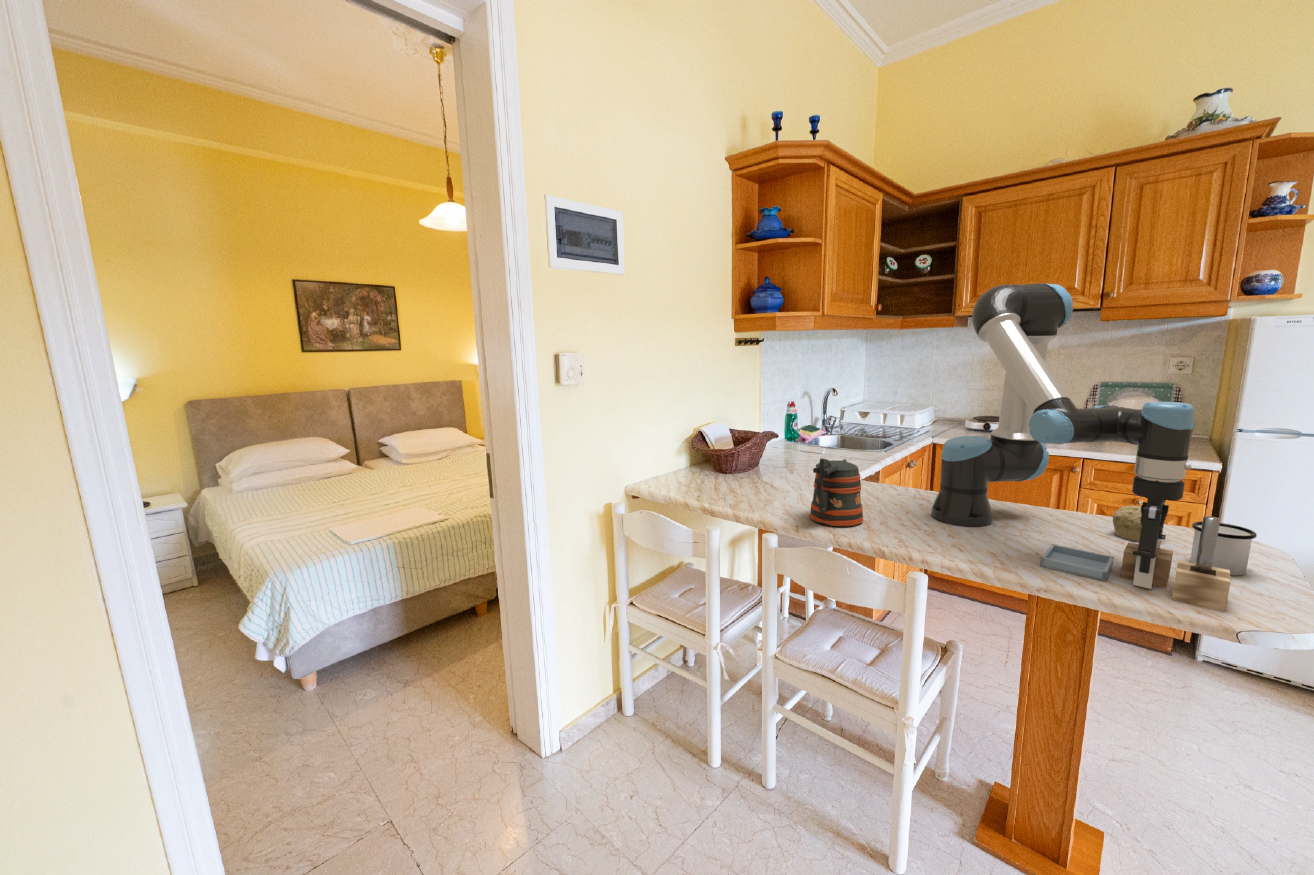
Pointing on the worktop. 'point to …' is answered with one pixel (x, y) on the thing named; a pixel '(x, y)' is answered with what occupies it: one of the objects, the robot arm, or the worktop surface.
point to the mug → (1227, 547)
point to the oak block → (1201, 586)
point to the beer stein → (836, 494)
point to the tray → (1077, 562)
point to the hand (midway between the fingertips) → (1145, 576)
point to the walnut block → (1160, 567)
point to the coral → (1128, 522)
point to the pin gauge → (1207, 544)
